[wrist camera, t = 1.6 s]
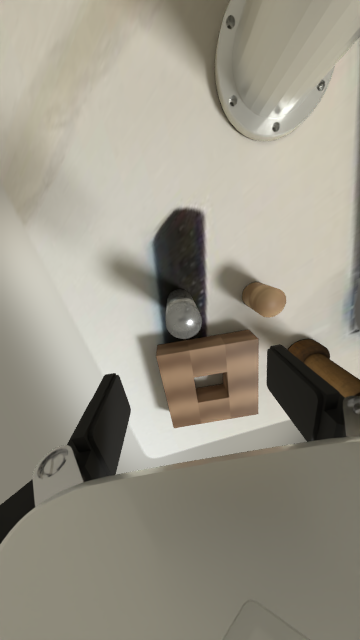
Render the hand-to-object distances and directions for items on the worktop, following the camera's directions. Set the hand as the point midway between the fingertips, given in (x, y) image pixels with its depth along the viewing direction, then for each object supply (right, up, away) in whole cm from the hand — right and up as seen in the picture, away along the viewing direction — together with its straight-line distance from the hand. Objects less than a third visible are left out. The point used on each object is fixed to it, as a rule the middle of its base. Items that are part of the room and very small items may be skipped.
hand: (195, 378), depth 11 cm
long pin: (-1, +7, +17) cm, 18 cm away
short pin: (+11, +8, +17) cm, 22 cm away
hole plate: (+4, -7, +22) cm, 24 cm away
